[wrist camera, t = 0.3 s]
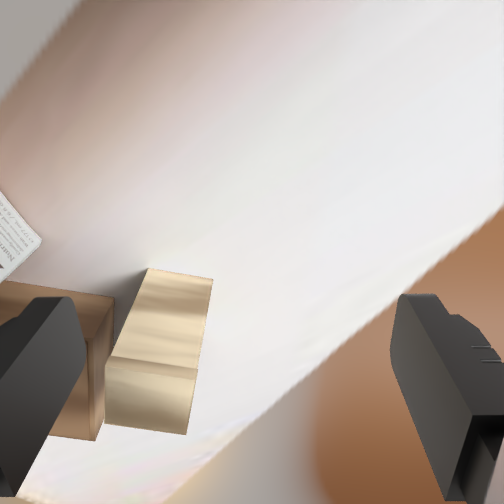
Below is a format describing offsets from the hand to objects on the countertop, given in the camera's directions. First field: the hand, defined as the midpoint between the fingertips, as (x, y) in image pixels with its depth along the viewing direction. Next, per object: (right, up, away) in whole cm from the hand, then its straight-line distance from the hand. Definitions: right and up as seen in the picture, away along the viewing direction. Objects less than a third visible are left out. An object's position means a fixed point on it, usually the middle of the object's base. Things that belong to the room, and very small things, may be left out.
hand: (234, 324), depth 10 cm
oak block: (-5, -2, +23) cm, 23 cm away
